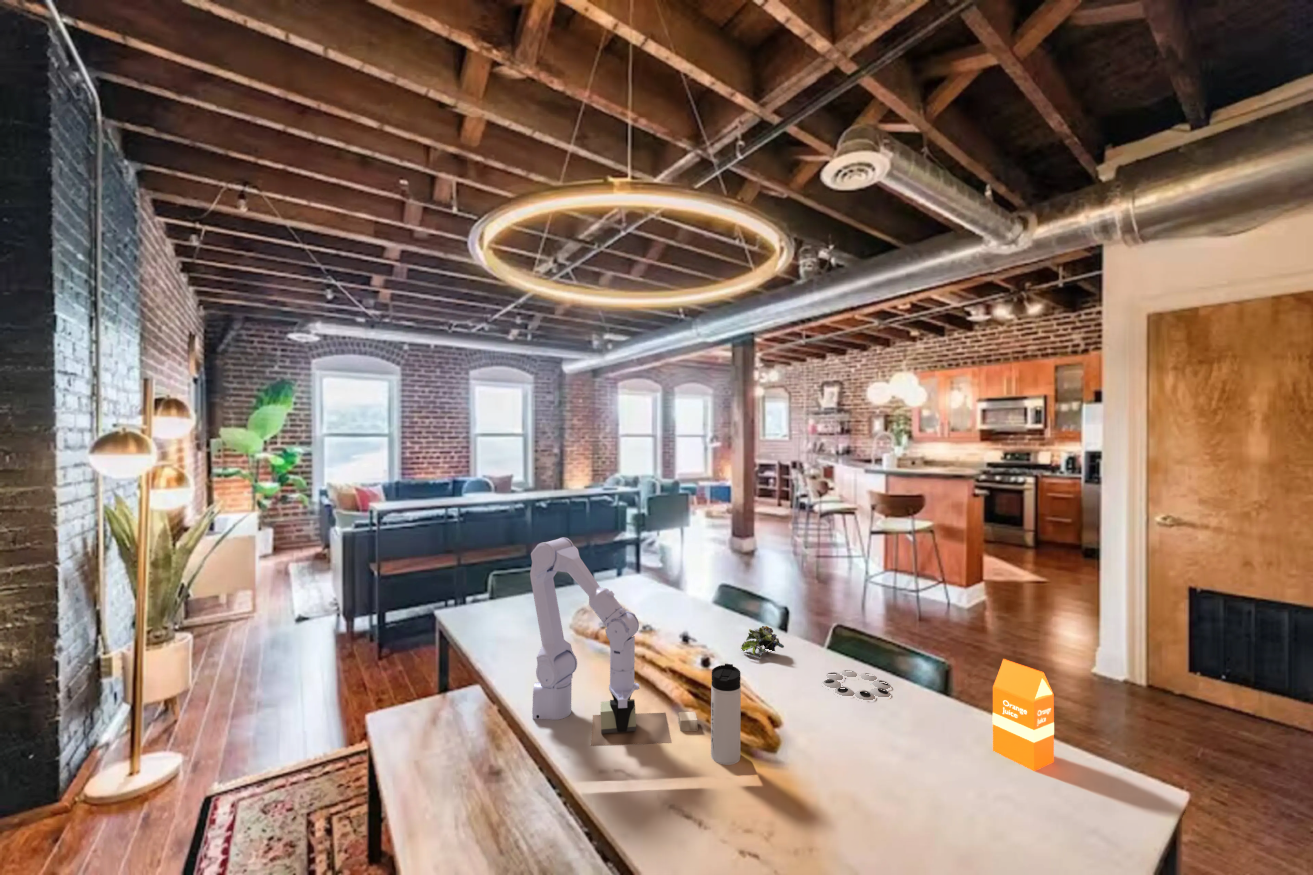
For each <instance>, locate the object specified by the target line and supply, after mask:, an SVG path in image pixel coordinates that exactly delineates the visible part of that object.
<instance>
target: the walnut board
mask: <svg viewBox="0 0 1313 875" xmlns="http://www.w3.org/2000/svg"><path fill="white" fill-rule="evenodd" d="M590 734H591V737H590V746H591V747H592V746H593V747H596V746H598V747H599V746H601V747H602V746H623V745H625V746H626V745H629V746H630V745H654V744H672V738H671V733H670V727H669V722H668V718H667V713H666V712H649V713H647V712H644V713H641V712H640V713H636V731H628V732H617V733H605V734H601V714H592V722H591V733H590Z"/></svg>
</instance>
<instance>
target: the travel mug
mask: <svg viewBox="0 0 1313 875" xmlns="http://www.w3.org/2000/svg"><path fill="white" fill-rule="evenodd" d="M710 686H711V688H710V689H711V690H710V692H711V693H710V694H711V696H710V698H711V700H710V715H711V716H710V756H711V760H713V762H716V763H717V764H719V765H725V766H731V765H735V764H737V763H738V762H740V760H741V724H742V722H741V718H742V717H741V708H742V705H741V703H742V702H741V696H742V694H741V691H742V689H741V688H742V686H741V670H740V669H739V668H737V667H735V666H734V664H733V663H732V664H731V663H724V664H722V665H718V666H715V667H714V668H712V670H711V683H710Z"/></svg>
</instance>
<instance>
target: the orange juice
mask: <svg viewBox="0 0 1313 875" xmlns="http://www.w3.org/2000/svg"><path fill="white" fill-rule="evenodd" d="M1054 697H1055V695H1054V692H1053V690H1052V688H1051V686H1050V684H1049V681H1048V679H1047V677H1046V674H1045V673H1044V671H1041V670H1038V669H1036V668H1032V667H1029V666H1027V665H1023V664H1020V663H1017V662H1014V661H1011V660H1008V659H1006V658H1002V661H1001V665H1000V667H999V670H998V673H997V675H996V678H995V680H994V682H993V685H992V752H994V751H995V753H996V752H997V753H996V754H998V753H999V754H998V755H1000V754H1001V756H1002V757H1005V758H1007V759H1009V760H1010V761H1012V762H1014V763H1017V764H1019V765H1021V766H1023V767H1024V768H1027V769H1029V770H1031V771H1033V772H1036V771H1038V770H1040V769H1041V768H1045V767H1046V766H1048V765H1051V764H1052V763H1053V764H1054V762H1055V757H1054V756H1055V750H1054V749H1055V748H1054V747H1055V744H1054V743H1055V736H1054V735H1055V722H1054V721H1055V718H1054V717H1055V712H1054V711H1055V709H1054V708H1055V706H1054V705H1055V704H1054V703H1055V702H1054Z"/></svg>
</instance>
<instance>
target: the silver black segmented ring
mask: <svg viewBox="0 0 1313 875" xmlns="http://www.w3.org/2000/svg"><path fill="white" fill-rule="evenodd" d="M846 671H850V669H849V670H848V669H846V670H842V671H841V672H840V673H842V675H844V676H847V677H856V676H857V674H858V673H857V672H855V671H854V670H851V671H852V672H846ZM840 673H839V672H835V671H834V672H828V673H826V674H825V675H826V676H827V678H829V679H827V680H825V679H824V680H823V681H822V683H823V684H824V685H825V686H827V687H830V688H836V689H835V693H837V694H839V695H842V696H853V695H854V694H855V696H856V697H857V698H859V699H863V700H873V699H875V696H878V697H889V696H890V695H892V693H891V691H887V690H886V689H888V688H890V687H891V686H892V684H890V683H889V682H887V681H885V680H882V679H879V680H877V681H874V680H876V679H877V678H878V677H877V676H875V675H874V676H869V675H866V674H870V673H867V672H864V673H861V674H860V675H859V676H861V678H862V679H864V680H869V681H874V682H873V683H872V684H873V685H874V686H875V687H877V688H874V689H873V688H872V689H870V690H865V689H861V690H858V691H856V692H855V691H854V690H852V688H850V687H848V686H843V687H841V684H842V683H840V682H838V681H837V680H842V679H843V676H842V675H840ZM828 674H836V675H828ZM825 681H832V682H825ZM833 681H834V682H833ZM880 682H885V683H887V684H889V685H886V684H883V683H880ZM839 688H845V689H848V690H846V692H840V691H839V690H840V689H839ZM877 689H882V690H881V691H883V690H885V691H887V692H888V693H887V692H886V693H887V694H885V693H883V692H880V690H877ZM885 691H884V692H885ZM860 692H867V693H870V694H869V695H870V696H869V697H866V696H865V697H864V696H863V695H862V694H861V693H860ZM874 695H875V696H874Z"/></svg>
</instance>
